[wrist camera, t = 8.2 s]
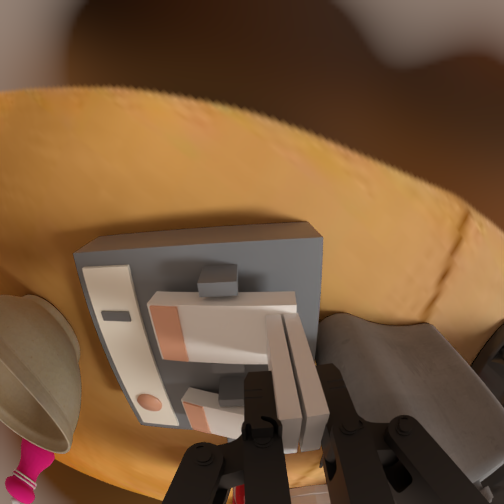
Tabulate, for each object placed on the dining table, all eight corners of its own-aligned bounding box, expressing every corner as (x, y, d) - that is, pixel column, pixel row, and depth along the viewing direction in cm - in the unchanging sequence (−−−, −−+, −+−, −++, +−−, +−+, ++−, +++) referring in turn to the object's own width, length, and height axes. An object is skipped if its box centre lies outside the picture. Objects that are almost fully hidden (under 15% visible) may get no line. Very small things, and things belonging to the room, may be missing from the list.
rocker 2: (291, 406, 17) (287, 423, 15) (289, 433, 18) (285, 449, 17) (189, 386, 19) (180, 401, 18) (198, 415, 20) (190, 428, 19)
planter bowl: (-5, 320, 22) (-51, 365, 12) (18, 231, 18) (-61, 274, 8) (81, 402, 26) (52, 463, 16) (134, 345, 22) (92, 437, 12)
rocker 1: (294, 291, 15) (296, 306, 13) (293, 347, 16) (294, 365, 14) (156, 291, 15) (145, 304, 14) (169, 344, 17) (161, 360, 15)
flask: (298, 360, 23) (347, 573, 4) (320, 307, 22) (420, 554, 3) (416, 365, 25) (495, 496, 6) (440, 323, 23) (545, 451, 4)
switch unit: (307, 221, 19) (335, 249, 13) (299, 395, 25) (309, 443, 19) (99, 236, 19) (54, 266, 13) (149, 397, 25) (135, 442, 19)
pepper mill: (26, 417, 29) (-10, 487, 10) (54, 432, 30) (20, 510, 11) (38, 435, 32) (8, 500, 13) (65, 449, 32) (38, 520, 13)
